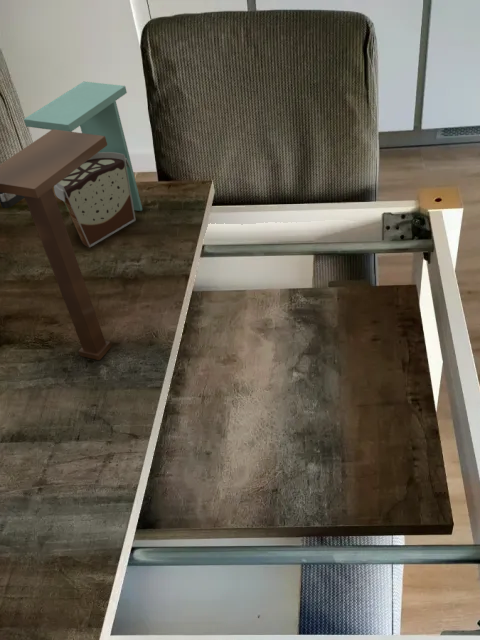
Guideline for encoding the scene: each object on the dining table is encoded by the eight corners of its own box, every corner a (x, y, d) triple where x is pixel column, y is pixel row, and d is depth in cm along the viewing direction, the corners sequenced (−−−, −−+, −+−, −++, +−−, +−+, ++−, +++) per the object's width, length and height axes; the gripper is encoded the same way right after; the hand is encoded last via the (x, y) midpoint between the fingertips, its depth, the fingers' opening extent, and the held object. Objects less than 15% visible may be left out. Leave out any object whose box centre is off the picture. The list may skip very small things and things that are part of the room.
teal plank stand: (65, 237, 99) (23, 119, 86) (115, 194, 108) (83, 81, 95) (104, 245, 97) (68, 124, 84) (152, 200, 106) (125, 85, 93)
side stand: (51, 352, 81) (-23, 179, 65) (106, 295, 89) (52, 129, 72) (98, 363, 79) (34, 188, 63) (150, 304, 87) (105, 135, 71)
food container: (116, 205, 105) (98, 143, 98) (142, 216, 103) (127, 153, 95) (54, 240, 98) (31, 176, 91) (81, 252, 96) (59, 187, 89)
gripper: (-44, 188, 66) (50, 128, 77) (-153, 174, 69) (-48, 119, 80) (-14, 255, 71) (70, 190, 82) (-117, 239, 75) (-23, 178, 86)
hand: (11, 155), depth 81 cm, fingers open, 8 cm apart
